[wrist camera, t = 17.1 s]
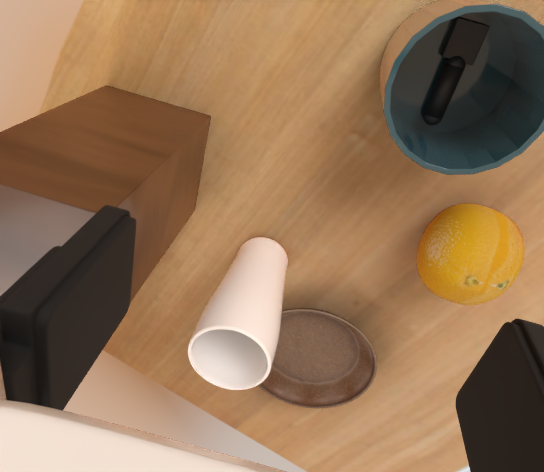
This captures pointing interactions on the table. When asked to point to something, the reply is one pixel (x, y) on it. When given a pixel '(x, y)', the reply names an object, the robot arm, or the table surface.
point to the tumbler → (465, 88)
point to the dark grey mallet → (454, 65)
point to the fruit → (470, 254)
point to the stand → (98, 176)
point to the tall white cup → (242, 319)
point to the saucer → (319, 360)
